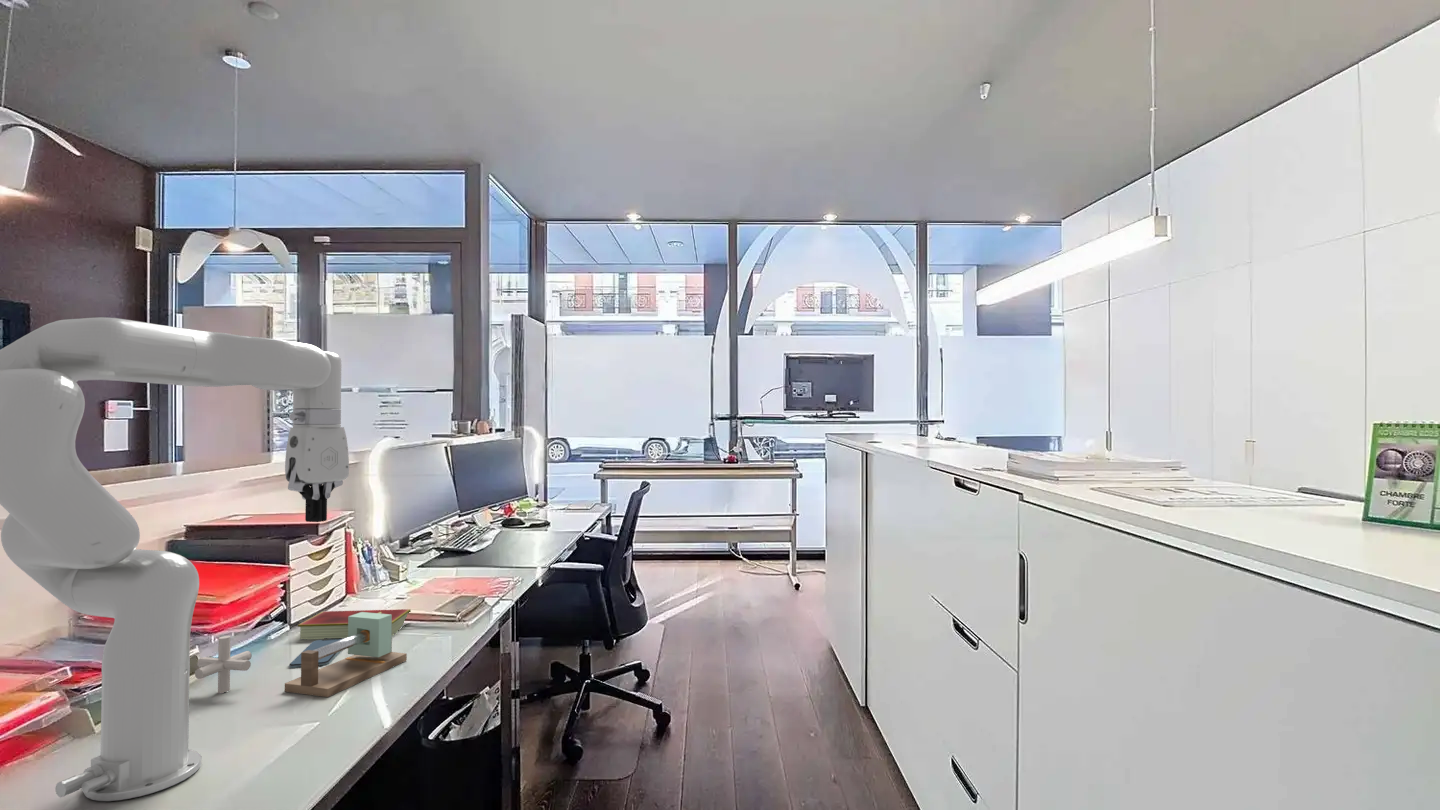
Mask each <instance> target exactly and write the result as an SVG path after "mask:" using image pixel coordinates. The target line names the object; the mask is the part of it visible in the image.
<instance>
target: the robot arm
mask: <svg viewBox="0 0 1440 810" xmlns="http://www.w3.org/2000/svg"><path fill="white" fill-rule="evenodd" d="M79 381H114V382H115V381H118V382H129V383H131V382H132V383H141V384H142V383H144V384H159V385H173V386H185V387H206V388H207V387H211V388H212V387H213V388H214V387H217V388H218V387H219V388H220V387H231V386H252V387H255V388H257V389H260V390H263V391H279V390H280V391H285V390H292V396H293V397H292V412H291V413H290V414H289V420H290V421H292V427H290V429H289V432H288V437H287V441H286V442H287V443H286V450H285V459H284V460H285V463H284V473H285V474H284V475H285V479H286V481H287V482H288V485H287V490H289V491H293V492H298V493H299V494H300V495H301V498H302V500H305V508H304V509H305V516H304V518H305V519H304V520H305V522H309V523H322V522H326V521H327V520H328V499H330V497H331V494H332V492H333V491H334V489H336V488H338V487H340V486H342V485H343V484H344V480H347V479H348V477H349V476H350V474H349V473H350V459H349V457H350V456H349V445H348V439H347V438H348V437H347V433H346V430H345V426H341V424H342V421H341V420H342V358H341V356H340V355H339V354H338V353H335V352H331V351H325V350H322V349H321V348H319V347H317V346H316V345H313V344H310V343H303V342H298V341H292V340H285V339H277V338H270V337H269V338H268V337H267V338H266V337H260V336H259V337H258V336H249V335H239V334H233V333H226V332H215V331H207V330H200V329H192V328H185V327H176V326H170V325H163V324H157V323H151V322H145V321H139V320H131V319H125V318H118V317H101V316H99V317H85V318H83V317H81V318H70V319H61V320H60V319H59V320H55V321H53V322H49V323H47V324H44V325H42V326H40V327H38V328H37V329H36V328H35V329H34V330H33V331H31V332H29V333H27V334H25V335H23V336H21V337H20V338H18V339H16V340H14V341H13V342H11V343H10V344H8V345H6V346H4V347H3V348H1V349H0V506H1V507H3V509H4V510H6V512H7V513H9V514H8V516H6V519H5V520H4V521H3V524H2V527H1V530H0V531H1V532H0V542H1V545H2V548H3V550H4V553H6V556H7V557H8V558H9V560H10V561H11V562H13V564H14V565H16V566H17V568H18V569H20V570H21V571H23V572H24V573H25V574H26V575H27V576H28V577H30V578H31V580H33V581H34V582H36V583H37V584H38V585H39V586H41V588H43V589H44V590H45V591H47V592H48V593H49V594H51V595H52V597H54V598H56V599H57V600H58V601H59V602H60V603H62V604H63V605H65V606H67V607H68V608H69V609H71V610H73V611H75V612H76V613H80V614H83V615H87V616H92V617H93V616H94V617H100V618H111V619H114V622H113V625H112V628H111V630H110V633H109V634H108V637H107V639H106V642H105V644H104V647H103V651H102V658H101V706H100V707H101V711H100V713H101V714H100V719H101V720H100V751H99V752H100V753H99V755H97V756H95V757H93V758H91V759H90V766H89V767H87V768H85V769H84V770H83V772H82V773H80V774H77V775H73V776H71V777H68V778H66V779H63V780H61V781H59V782H57V783H56V784H55V787H54V789H55V795H57V797H59V798H63V797H65V796H68V795H70V794H72V793H75V792H78V791H79V790H81V791H82V792H83V793H84V796H85V797H86V798H87V799H89V800H92V801H97V802H114V801H116V802H117V801H122V800H128V799H129V800H130V799H134V798H138V797H142V796H147V795H150V794H153V793H156V792H160V791H162V790H163V791H164V790H165V789H168V788H170V787H172V786H175V785H177V784H179V783H181V782H183V781H185V780H186V779H188V778H190V777H191V776H192V775H194V774H195V773H196V772H197V771H198V770H199V769H200V768H201V766H202V755H201V753H200V752H198V751H196V750H193V749H189V737H190V735H189V731H190V729H189V728H190V726H189V725H190V724H189V723H190V675H191V674H190V670H191V669H190V668H191V667H190V666H191V663H190V661H191V660H190V657H191V656H190V655H191V654H190V652H191V649H190V647H191V630H192V623H193V622H192V621H193V615H194V611H195V607H196V603H197V599H198V595H199V589H200V576H199V572H198V570H197V568H196V566H195V565H194V564H193V563H192V561H190V560H189V559H187V558H186V557H185V556H182V555H181V554H178V553H175V552H171V551H166V550H155V549H154V550H153V549H139V548H138V549H137V547H138V545H139V543H140V539H141V538H140V537H141V535H140V534H141V533H140V528H139V524H138V522H137V521H136V519H135V517H134V516H133V514H131V513H130V511H129V510H127V509H126V508H125V507H124V506H123V505H122V504H121V503H120V502H119V501H118V500H117V499H116V498H115V497H114V496H113V495H112V494H111V493H110V491H108V490H107V489H106V488H105V487H104V486H103V485H102V484H101V483H100V482H99V481H98V480H97V479H96V478H95V477H94V476H93V475H92V474H91V472H90V471H89V470H88V469H87V468H86V467H85V466H84V464H83V463H82V461H80V459H79V457H78V455H77V450H76V439H77V433H78V430H79V428H80V424H81V422H82V419H83V416H84V412H85V407H86V402H85V401H86V400H85V396H84V393H83V390H82V389H81V388H82V387H80V386H79V384H78V382H79Z"/></svg>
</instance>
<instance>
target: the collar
mask: <svg viewBox="0 0 1440 810" xmlns="http://www.w3.org/2000/svg"><path fill="white" fill-rule="evenodd" d="M368 629H370V640H369V641H368V642H362V643H360V644H357V645H355V646H352V647H350V648H347V654H348V655H351V656H353V655H362V656H371V657H381V656H383V655H385V654H387V653H390V652H391V639H393V636H392V615H391V614H379V613H368V612H360V613H357V614H354V615H351V616H348V637H350V636H352V635H355V634H358V633H360V632H361V631H363V630H368Z"/></svg>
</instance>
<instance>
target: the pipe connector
mask: <svg viewBox="0 0 1440 810" xmlns="http://www.w3.org/2000/svg"><path fill="white" fill-rule="evenodd" d="M231 643H232V642H231V635H222V636H220V637H218V654H217V655H218V656H217V657H208V656H207V657H205V656H202V657H200V658H199V659H198V661H197V667H198V668H197V669H195V671H194V677H195V678H196V679H198V680H201V679H203V678H207V677H209V676H211V675H214V674H216V673H217V694H225V693H224V692H226V693H228V692H227V691H229V690H230V691H231V671H242V672H245V671H246V672H247V671H248V670H250V668H251V665H252V663H251V659H252V653H251V651H249V650H246V651H243V652H240V653H237V654H234V655H232V656H231ZM230 691H229V692H230Z"/></svg>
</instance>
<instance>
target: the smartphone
mask: <svg viewBox="0 0 1440 810" xmlns="http://www.w3.org/2000/svg"><path fill="white" fill-rule="evenodd" d="M342 639H344V638H342ZM342 639H315V640H313V641H312V642H311V643H310V644H309V645H307V646H306V647H305V648H304V650H303V651H302V652H304V651H307V650H315V649H318V648H320V647H323V646H326V645H328V644H331V643H334V642H336V641H339V640H342ZM341 652H342V651H339V652H337V653H334V654H332V655H329V656H327V657H324V658H322V659H319V660H318V667H326V666H328V665H331V664H330V663H332V662H333V660H334V659H336V658H337V656H339V654H341ZM288 667H290V668H289V669H298V668H299V669H301V668H300V667H301V653H299V654H298V655H297V656H296V657H295V658H294V659H293V660H292V661H291V662H290V663H289V665H288Z"/></svg>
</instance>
